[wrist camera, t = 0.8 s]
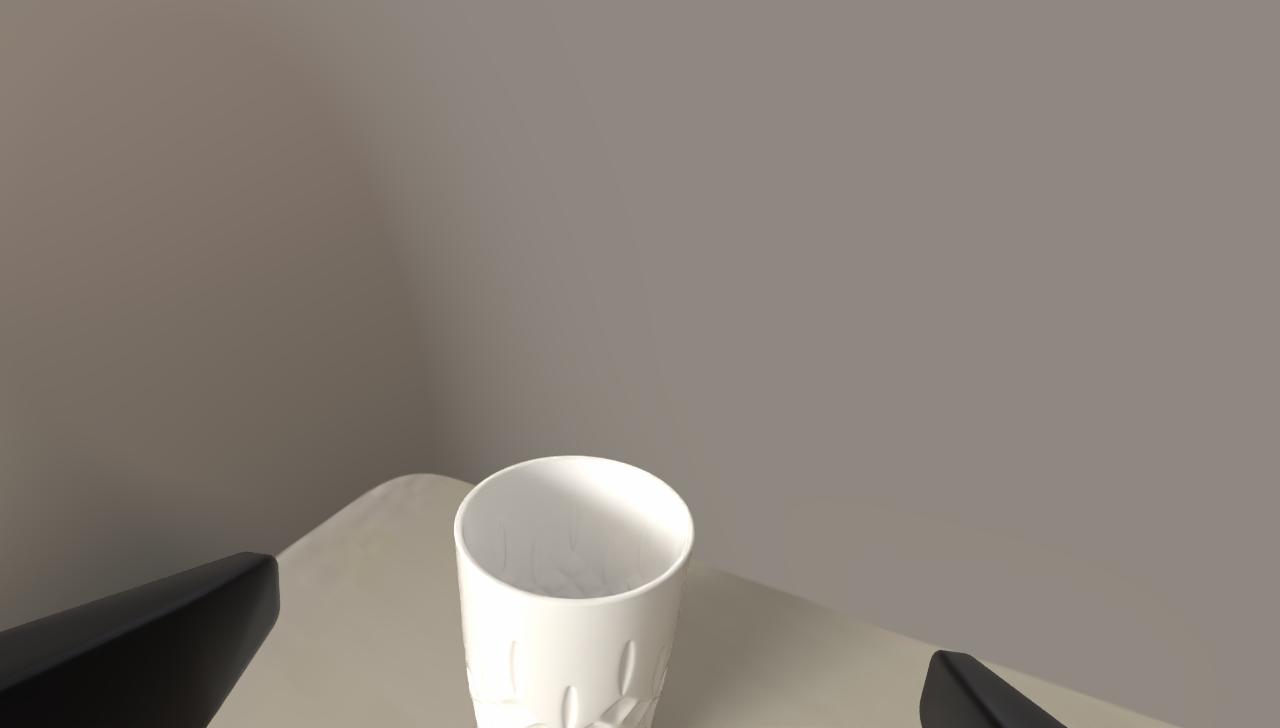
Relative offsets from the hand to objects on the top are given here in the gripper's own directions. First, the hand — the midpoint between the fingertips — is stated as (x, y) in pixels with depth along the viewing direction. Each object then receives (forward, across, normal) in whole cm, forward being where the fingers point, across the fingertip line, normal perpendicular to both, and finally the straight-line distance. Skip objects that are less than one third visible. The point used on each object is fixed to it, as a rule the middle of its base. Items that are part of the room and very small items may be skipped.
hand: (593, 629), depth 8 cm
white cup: (+13, +2, +15) cm, 20 cm away
